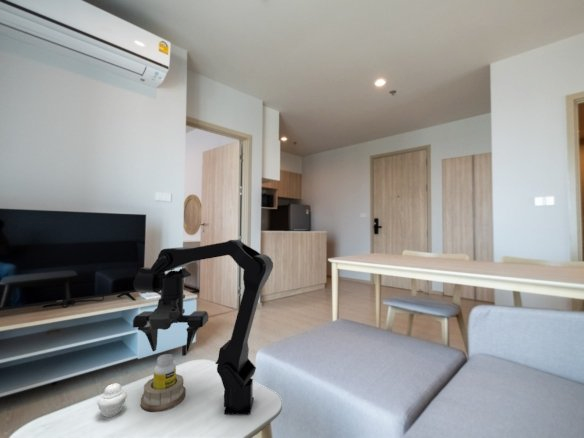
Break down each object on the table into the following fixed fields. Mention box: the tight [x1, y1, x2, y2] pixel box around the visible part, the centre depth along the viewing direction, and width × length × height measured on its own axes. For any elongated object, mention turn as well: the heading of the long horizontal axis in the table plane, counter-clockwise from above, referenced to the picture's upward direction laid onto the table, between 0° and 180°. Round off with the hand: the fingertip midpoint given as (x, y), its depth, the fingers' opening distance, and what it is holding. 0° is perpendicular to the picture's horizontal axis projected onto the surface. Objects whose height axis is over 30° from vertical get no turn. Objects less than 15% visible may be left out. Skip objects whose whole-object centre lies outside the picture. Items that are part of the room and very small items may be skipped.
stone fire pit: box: [140, 373, 187, 413], centre depth 74 cm, size 11×11×4 cm
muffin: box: [96, 382, 128, 418], centre depth 68 cm, size 6×6×7 cm
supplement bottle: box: [153, 353, 177, 390], centre depth 74 cm, size 5×5×10 cm
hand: (171, 350), depth 76 cm, fingers open, 9 cm apart
